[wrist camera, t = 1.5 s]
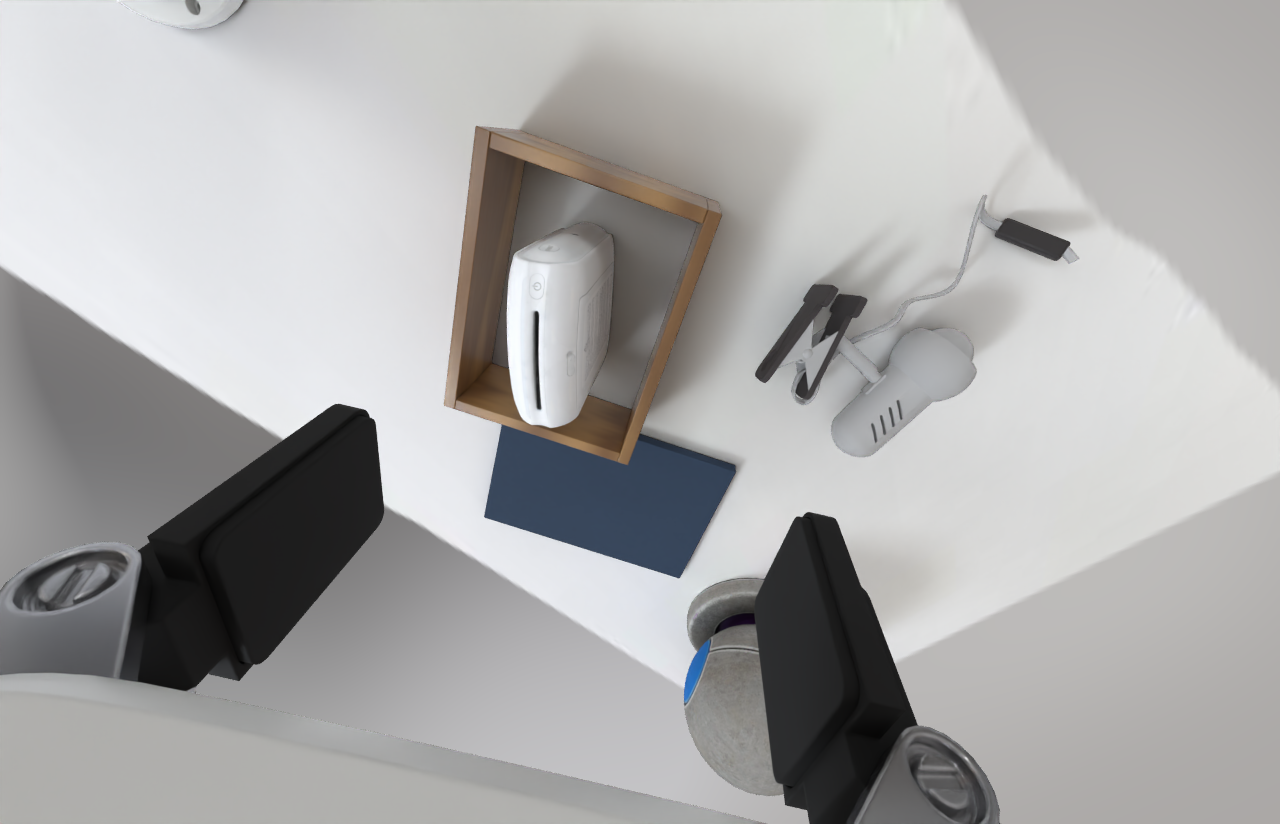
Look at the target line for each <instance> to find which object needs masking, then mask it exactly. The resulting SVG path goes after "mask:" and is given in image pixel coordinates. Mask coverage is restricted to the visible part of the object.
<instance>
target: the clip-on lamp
mask: <svg viewBox="0 0 1280 824" xmlns="http://www.w3.org/2000/svg"><path fill="white" fill-rule="evenodd" d="M986 198H987V195H983V196H982V198H981V200H980V202H979V204H978V207H977V210H976V212H975V215H974V219H973V222H972V226H971V229H970V233H969V238H968V242H967V246H966V251H965V255H964V259H963V262H962V266H961V269H960V272H959V274H958V276H957V278H956V280H955V281H954V282H953V283H952V284H951V285H950V286H949V287H948V288H947V289H945V290H943V291H941V292H939V293H935V294H931V295H925V296H920V297H915V298H911V299H909V300H907V301H905V302H904V303H903V304H901V306H900V308H899V310H898V312H897V314H896V315H895V317H894V318H893V319H892V320H891V321H890V322H888V323H886V324H885V325H883V326H880V327H878V328H875V329H872V330H870V331H867V332H865V333H862V334H860V335H858V336H856V337H854V338H852V339H851V340H848V339H847V338H846V337H845V336H844V333H845V331H846V329H847V327H848V325H849V323H850V321H851V319H852V317H853V318H857V317H858V316H859V315H860V313H861V312H862V310H863V308H864V306H865V305H866V302H867V299H866V298H864V297H862V296H855V295H844V294H839V295H838V296H837V297H836V299H835V301H834V302H833V304H832V306H831V308H830V312H832V315H831V317H830V319H829V321H828V323H827V325H826V327H825V328H824V329H822V330H821V331H819V332H818V333H816V334H815V335H813V336H812V332H813V323H814V318H815V317H816V315H817V314H818V313H819V311H820V310H821V309H822V307H827V306H828V305H829V304H830V303H831V301H832V300H833V298H834V297H835V295H836V294H837V292H838V288H836V287H835V286H833V285H815V284H814V285H813V286H812V287H811V288H810V290H809V291H808V293H807V294H806V296H805V298H804V300H803V301H804V302H805V303H804V305H803V306H802V307H801V309H800V310H799V312H798V313H797V314H796V316H795V317H794V319H793V320H792V321H791V323H790V324H789V325H788V327H787V328H786V330H785V331H784V332H783V334H782V335H781V337H780V338H779V339H778V341H777V342H776V343H775V345H774V346H773V348H772V349H771V350H770V352H769V353H768V355H767V356H766V357H765V359H764V360H763V361H762V363H761V364H760V366H759V367H758V369H757V371H756V373H755V376H756V377H757V378H758V379H759V380H760V381H762V382H763V383H766V382H767V381H768V380H769V379H770V378H771V377H772V375H773V374H774V372H775V371H776V370H777V368H780V367H782V366H785V365H788V364H790V363H793V362H795V361H796V367H797V375H796V377H795V379H794V382H793V385H792V389H791V392H792V396H793V398H794V399H795V401H796V402H797V403H799V404H801V405H806V404H808V403H810V402H811V401H812V400H813V399H814V398H815V396H816V394H817V392H818V390H819V386H820V382H821V378H822V376H823V375H824V373H825V371H826V369H827V367H828V365H829V364H830V362H831V361H832V360H833V359H834V358H835V357H836V356H837V355H838V354H840V353H841V354H842V355H843V356H844V357H846V358H847V359H848V360H849V361H850V362H851V363H852V364H853V365H854V366H855V367H856V368H857V369H858V370H859V371H860V372H861V373H862V374H863V375H864V376H865V377H866V378H867V379H868V380H869V381H870V382H869V383H868V384H867V385H865V386H864V387H863V388H862V389H861V391H862V392H861V393H860V394H859V395H858V396H857V397H856V398H855V399H854V400H853V401H852V402H850V403H849V404H848V405H847V406H846V407H845V408H844V409H843V410H842V411H841V412H840V413H839V414H838V415H837V416H836V417H835V418H834V420H833V422H832V426H831V434H832V438H833V441H834V443H835V444H836V446H837V447H838V448H839V449H840V450H841V451H843V452H844V453H846V454H848V455H851V456H855V457H867V456H871V455H873V454H874V453H875V452H876V451H878V450H879V449H880V448H881V447H882V446H883V445H884V444H885V443H887V442H888V441H889V440H890V439H891V438H892V437H893V436H895V435H896V434H897V433H898V432H899V431H900V430H901V429H902V428H904V427H905V426H906V425H907V424H908V423H909V422H910V421H912V420H913V419H914V418H915V417H916V416H917V415H918V414H919V413H921V412H922V411H923V410H924V409H925V408H926V407H927V406H929V405H930V404H931V403H932V402H937V401H942V400H946V399H949V398H951V397H954V396H956V395H958V394H959V393H961V392H962V391H964V390H965V389H966V388H967V387H968V386H969V385H970V384H971V382H972V381H973V379H974V377H975V375H976V373H977V371H976V368H975V366H974V364H973V363H972V359H973V352H974V349H973V345H972V343H971V341H970V339H969V338H968V337H967V336H966V335H965V334H964V333H962V332H961V331H958V330H956V329H952V328H939V329H935V330H932V331H930V330H928V329H925V328H917V329H914V330H912V331H910V332H909V333H907V334H906V335H905V336H903V337H902V338H901V339H900V340H899V341H898V342H897V344H896V345H895V347H894V348H893V350H892V352H891V354H890V358H889V365H888V366H887V367H886V368H885V369H884V370H883V371H882V372H878V371H877V370H878V368H877V367H876V366H875V365H874V364H873V363H872V362H871V361H870V360H869V359H868V358H867V357H866V356H865V355H864V354H863V353H862V352H861V351H860V350H858V349H857V348H856V347H855V346H854V345H853V344H854V343H856V342H858V341H860V340H862V339H865V338H867V337H870V336H872V335H875V334H877V333H880V332H882V331H885V330H887V329H889V328H891V327H893V326H894V325H895V324H896V323H898V322H899V321H900V319H901V318H902V316H903V314H904V312H905V310H906V309H907V307H908V306H909V305H910V304H911V303H913V302H915V301H919V300H924V299H930V298H936V297H940V296H943V295H945V294H947V293H949V292H951V291H952V290H953V289H954V288H955V287H956V286H957V284H958V283H959V281H960V279H961V277H962V275H963V272H964V269H965V266H966V263H967V259H968V256H969V252H970V248H971V244H972V240H973V236H974V232H975V228H976V225H977V222H978V219H980V220H981V222H982V223H983V224H985V225H986V226H987V227H989V228H991V229H993V230H996V233H995V236H996V237H997V238H1000V239H1002V240H1005V241H1007V242H1010V243H1012V244H1014V245H1017V246H1019V247H1022V248H1024V249H1027V250H1029V251H1032V252H1034V253H1037V254H1039V255H1042V256H1044V257H1047V258H1049V259H1051V260H1054V261H1057V260H1059V259H1060V258H1061V257H1062V256H1063V257H1064V258H1065V260H1066V261H1067V262H1068V263H1069V264H1070V263H1072V262H1074V261H1076V260H1078V259H1079V257H1078V256H1077V255H1076V254H1075V252H1074V251H1073V250H1072V249H1071V248H1070V247H1069V246H1070V242H1069V241H1066V240H1064V239H1061V238H1058V237H1056V236H1053V235H1051V234H1048V233H1046V232H1043V231H1040V230H1038V229H1035V228H1033V227H1030V226H1028V225H1025V224H1022V223H1020V222H1017V221H1015V220H1012V219H1010V218H1007V219H1005V220H1004V222H1003V223H1002V222H1000V221H997V220H995V219H994V218H992V217H991V216H989V215H988V214H987V212H986V210H985V200H986ZM795 392H796V394H797V395H799V396H800V397H801V398H803V399H800V398H798V397H797V396H796V394H795Z"/></svg>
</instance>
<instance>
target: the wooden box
mask: <svg viewBox="0 0 1280 824" xmlns="http://www.w3.org/2000/svg"><path fill="white" fill-rule="evenodd" d="M525 161H527V162H530V163H533V164H536V165H538V166H541V167H544V168H547V169H550V170H552V171H555V172H558V173H561V174H564V175H566V176H569V177H572V178H575V179H578V180H580V181H583V182H586V183H589V184H592V185H594V186H597V187H600V188H603V189H606V190H608V191H611V192H614V193H617V194H620V195H622V196H625V197H628V198H631V199H634V200H636V201H639V202H642V203H645V204H648V205H650V206H653V207H656V208H659V209H662V210H664V211H667V212H670V213H673V214H676V215H678V216H681V217H684V218H687V219H690V220H692V221H695V222H698V225H697V227H696V230H695V233H694V236H693V239H692V241H691V244H690V247H689V250H688V253H687V256H686V258H685V261H684V264H683V267H682V270H681V272H680V275H679V278H678V281H677V284H676V286H675V289H674V292H673V295H672V298H671V301H670V303H669V306H668V309H667V312H666V315H665V317H664V320H663V323H662V326H661V329H660V332H659V334H658V337H657V340H656V343H655V346H654V348H653V351H652V354H651V357H650V360H649V363H648V365H647V368H646V371H645V374H644V377H643V379H642V382H641V385H640V388H639V391H638V394H637V396H636V399H635V402H634V405H633V408H632V410H631V409H628V408H625V407H622V406H619V405H616V404H613V403H610V402H607V401H604V400H601V399H598V398H595V397H592V396H589V395H588V396H587V398H586V400H585V402H584V404H583V406H582V408H581V411H580V413H579V415H578V416H577V417H576V418H575V419H574V420H573V421H571V422H570V423H568V424H565V425H562V426H559V427H554V428H549V427H546V426H543V425H531V424H529V423H527V422H526V421H524V420H523V419H522V417H521V416H520V414H519V411H518V409H517V406H516V404H515V400H514V397H513V392H512V386H511V380H510V371H509V369H508V368H505V367H502V366H499V365H496V364H493V363H491V362H492V356H493V350H494V344H495V338H496V332H497V326H498V320H499V314H500V308H501V302H502V296H503V290H504V284H505V278H506V272H507V266H508V260H509V254H510V248H511V242H512V236H513V229H514V223H515V217H516V211H517V205H518V199H519V193H520V187H521V181H522V175H523V169H524V163H525ZM721 217H722V213H721V210H720V207H719V204H718V202H717V201H714V200H711V199H709V198H707V199H706V197H703V196H700V195H697V194H695V193H692V192H689V191H686V190H683V189H681V188H678V187H675V186H672V185H670V184H667V183H664V182H661V181H659V180H656V179H653V178H650V177H647V176H645V175H642V174H639V173H636V172H634V171H631V170H628V169H625V168H622V167H620V166H617V165H614V164H611V163H609V162H606V161H603V160H600V159H598V158H595V157H592V156H589V155H586V154H584V153H581V152H578V151H575V150H573V149H570V148H567V147H564V146H561V145H559V144H556V143H553V142H550V141H548V140H545V139H542V138H539V137H537V136H534V135H531V134H528V133H526V132H523V131H520V130H515V129H504V128H493V127H482V126H476V129H475V138H474V146H473V155H472V164H471V173H470V181H469V190H468V199H467V208H466V216H465V225H464V234H463V242H462V251H461V260H460V269H459V277H458V286H457V295H456V304H455V312H454V321H453V330H452V339H451V347H450V356H449V365H448V374H447V382H446V391H445V400H444V406H447V407H450V408H453V409H456V410H459V411H462V412H465V413H469V414H472V415H475V416H478V417H481V418H484V419H487V420H490V421H493V422H496V423H499V424H502V425H506V426H509V427H512V428H515V429H518V430H521V431H524V432H527V433H530V434H533V435H536V436H539V437H542V438H546V439H549V440H552V441H555V442H558V443H561V444H564V445H567V446H570V447H573V448H576V449H579V450H583V451H586V452H589V453H592V454H595V455H598V456H601V457H604V458H607V459H610V460H613V461H618V462H619V463H622V464H626V465H628V463H629V461H630V458H631V456H632V453H633V450H634V448H635V445H636V442H637V440H638V437H639V434H640V432H641V429H642V426H643V424H644V421H645V418H646V416H647V413H648V410H649V408H650V405H651V402H652V400H653V397H654V394H655V392H656V389H657V387H658V384H659V381H660V379H661V376H662V373H663V371H664V368H665V365H666V363H667V360H668V357H669V355H670V352H671V349H672V347H673V344H674V341H675V339H676V336H677V333H678V331H679V328H680V325H681V323H682V320H683V318H684V315H685V312H686V310H687V307H688V304H689V302H690V299H691V296H692V294H693V291H694V288H695V286H696V283H697V280H698V278H699V275H700V272H701V270H702V267H703V264H704V262H705V259H706V256H707V254H708V251H709V249H710V246H711V243H712V241H713V238H714V235H715V233H716V230H717V227H718V225H719V222H720V219H721Z"/></svg>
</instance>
